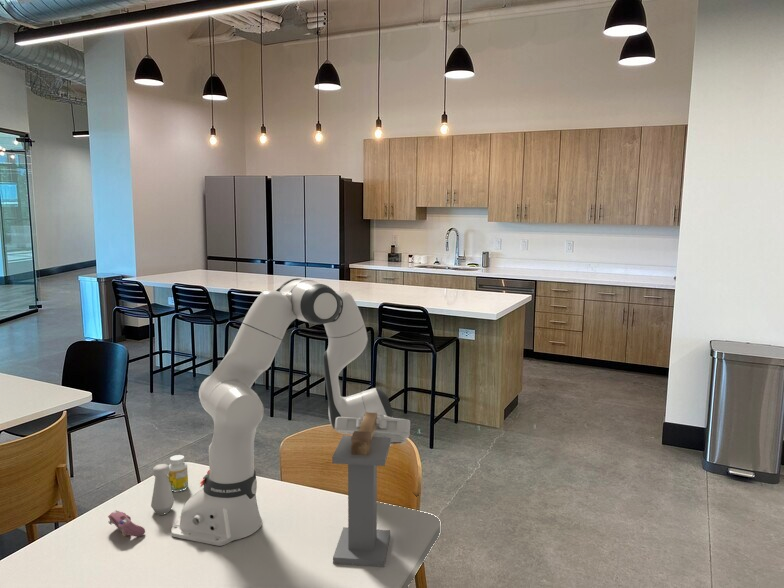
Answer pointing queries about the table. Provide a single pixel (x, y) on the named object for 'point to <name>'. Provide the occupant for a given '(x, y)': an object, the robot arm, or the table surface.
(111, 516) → the pink toy figure
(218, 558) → the table surface
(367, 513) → the charcoal stand
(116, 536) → the table surface
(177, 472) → the supplement bottle
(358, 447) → the oak shaft
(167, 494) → the salt shaker
